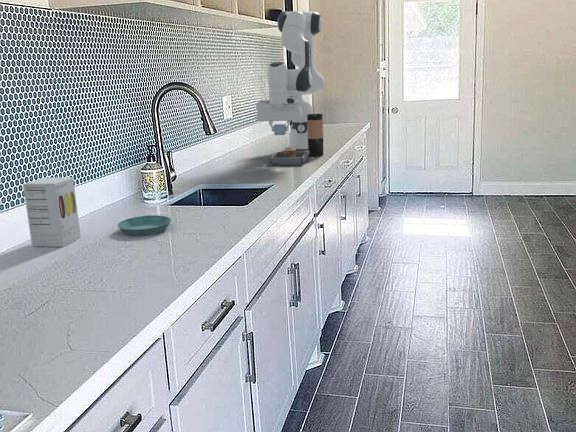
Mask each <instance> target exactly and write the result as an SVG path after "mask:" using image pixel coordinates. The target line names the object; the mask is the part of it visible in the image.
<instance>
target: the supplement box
mask: <svg viewBox="0 0 576 432" xmlns="http://www.w3.org/2000/svg"><path fill="white" fill-rule="evenodd" d="M22 187H23V194H24V195H23V196H24V201H25V207H26V213H27V222H28V227H29V234H30V240H31V246H32V247H46V248H47V247H48V248H49V247H52V248H53V247H55V248H64V247H65V246H67V245H69V244H71V243H72V242H75V241H77V240H79V239H80V238H82V237H81V229H80V220H79V213H78V204H77V197H76V191H75V181H74V177H70V176H69V177H41V178H38V179H34V180H32V181H29V182H26V183H23V184H22Z"/></svg>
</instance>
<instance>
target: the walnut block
mask: <svg viewBox="0 0 576 432" xmlns="http://www.w3.org/2000/svg"><path fill="white" fill-rule="evenodd" d="M284 152H285V158H293V157H296V152H297V149H290V148H285V150H284Z"/></svg>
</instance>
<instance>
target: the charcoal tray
mask: <svg viewBox="0 0 576 432" xmlns="http://www.w3.org/2000/svg"><path fill="white" fill-rule="evenodd" d="M308 160H309V152H308V150H307V151H303V150H302V151H296V157H293V158H285V151H276V152H275V153H274V154H273V155H271V156H270V157H269V166H270V167H278V166H279V167H281V166H283V167H284V166H285V167H286V166H289V165H298V166H304V165H305V164H306V162H307V161H308ZM289 167H290V166H289Z"/></svg>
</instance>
